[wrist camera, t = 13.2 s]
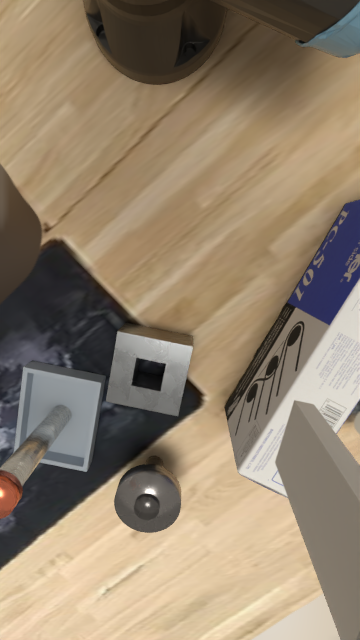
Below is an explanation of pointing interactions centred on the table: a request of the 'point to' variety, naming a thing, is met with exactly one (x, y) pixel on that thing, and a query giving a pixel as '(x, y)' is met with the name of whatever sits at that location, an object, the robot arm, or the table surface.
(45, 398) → the tray
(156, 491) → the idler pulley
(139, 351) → the block
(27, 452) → the pin
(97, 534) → the table surface
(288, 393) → the ink box
